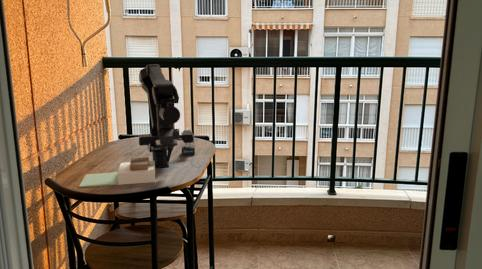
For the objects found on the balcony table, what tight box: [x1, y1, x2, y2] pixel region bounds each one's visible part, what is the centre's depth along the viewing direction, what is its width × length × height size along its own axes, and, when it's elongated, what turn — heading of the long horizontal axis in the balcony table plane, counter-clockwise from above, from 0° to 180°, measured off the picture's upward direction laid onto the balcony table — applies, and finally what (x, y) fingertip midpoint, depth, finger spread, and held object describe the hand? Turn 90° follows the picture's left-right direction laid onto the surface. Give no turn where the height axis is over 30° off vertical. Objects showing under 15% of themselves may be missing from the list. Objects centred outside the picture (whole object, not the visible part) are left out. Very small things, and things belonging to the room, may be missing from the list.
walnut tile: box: [130, 156, 150, 171], centre depth 141 cm, size 9×6×2 cm, turn 11°
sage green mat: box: [78, 171, 118, 188], centre depth 140 cm, size 13×12×1 cm
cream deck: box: [117, 160, 156, 186], centre depth 142 cm, size 13×12×4 cm
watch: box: [181, 128, 196, 156], centre depth 172 cm, size 6×8×11 cm
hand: (167, 162), depth 143 cm, fingers closed
